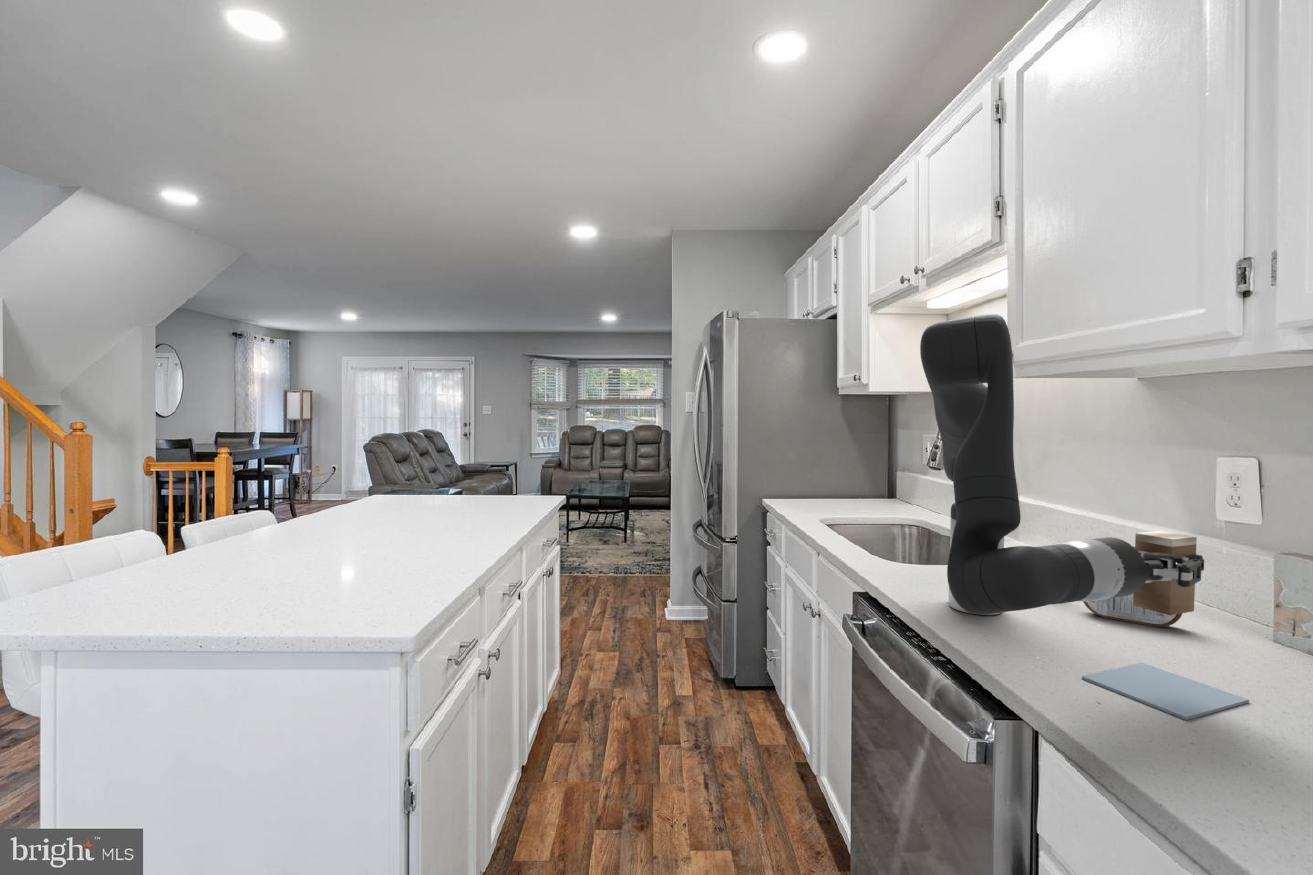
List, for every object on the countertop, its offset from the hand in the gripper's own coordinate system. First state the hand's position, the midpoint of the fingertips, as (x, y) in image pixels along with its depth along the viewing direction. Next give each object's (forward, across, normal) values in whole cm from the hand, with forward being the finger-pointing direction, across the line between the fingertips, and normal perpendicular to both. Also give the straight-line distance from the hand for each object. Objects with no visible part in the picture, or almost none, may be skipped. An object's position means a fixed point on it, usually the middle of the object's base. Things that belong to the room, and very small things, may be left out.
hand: (1177, 558), depth 86 cm
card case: (-3, 0, +6) cm, 7 cm away
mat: (-2, 0, +18) cm, 18 cm away
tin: (+24, +20, +18) cm, 36 cm away
